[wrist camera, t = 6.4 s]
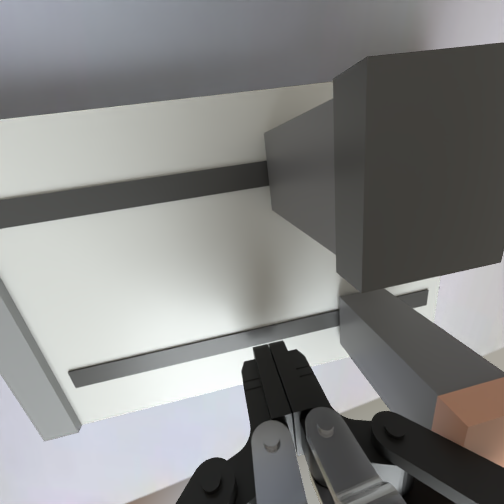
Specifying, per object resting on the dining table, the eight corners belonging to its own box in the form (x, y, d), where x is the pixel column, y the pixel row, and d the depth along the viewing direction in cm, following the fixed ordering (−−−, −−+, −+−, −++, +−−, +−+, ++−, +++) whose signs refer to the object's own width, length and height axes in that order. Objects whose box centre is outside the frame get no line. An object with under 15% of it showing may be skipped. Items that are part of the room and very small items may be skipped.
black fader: (258, 127, 10) (367, 56, 3) (327, 118, 10) (554, 36, 3) (268, 215, 11) (361, 293, 4) (329, 204, 11) (500, 262, 5)
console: (-50, 142, 11) (-156, 134, 7) (415, 86, 13) (481, 61, 10) (76, 385, 16) (44, 441, 12) (396, 309, 18) (437, 340, 15)
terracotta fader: (335, 293, 13) (468, 426, 6) (386, 282, 13) (560, 398, 7) (336, 346, 14) (448, 503, 8) (382, 335, 14) (527, 476, 8)
